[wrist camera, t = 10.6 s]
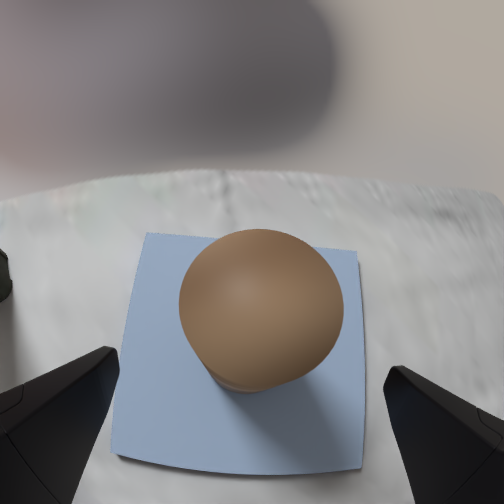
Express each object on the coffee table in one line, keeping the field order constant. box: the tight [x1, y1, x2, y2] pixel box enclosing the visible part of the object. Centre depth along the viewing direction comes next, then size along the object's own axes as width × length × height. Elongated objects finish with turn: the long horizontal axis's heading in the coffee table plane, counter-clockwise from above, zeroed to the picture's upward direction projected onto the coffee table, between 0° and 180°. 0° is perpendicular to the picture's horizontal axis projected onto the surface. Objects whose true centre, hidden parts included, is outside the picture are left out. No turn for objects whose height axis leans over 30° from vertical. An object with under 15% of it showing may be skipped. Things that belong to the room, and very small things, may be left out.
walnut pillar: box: [179, 229, 344, 394], centre depth 13 cm, size 5×5×10 cm
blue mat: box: [110, 233, 365, 475], centre depth 18 cm, size 16×16×1 cm
